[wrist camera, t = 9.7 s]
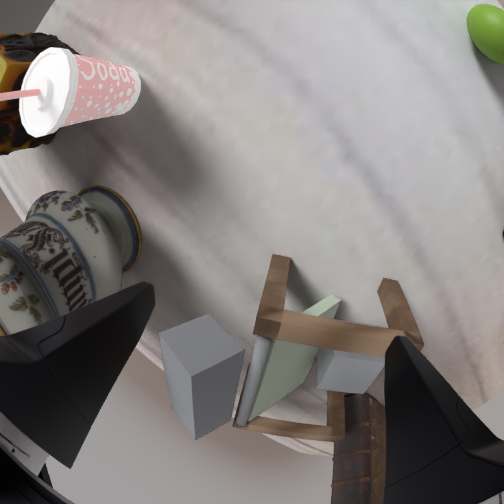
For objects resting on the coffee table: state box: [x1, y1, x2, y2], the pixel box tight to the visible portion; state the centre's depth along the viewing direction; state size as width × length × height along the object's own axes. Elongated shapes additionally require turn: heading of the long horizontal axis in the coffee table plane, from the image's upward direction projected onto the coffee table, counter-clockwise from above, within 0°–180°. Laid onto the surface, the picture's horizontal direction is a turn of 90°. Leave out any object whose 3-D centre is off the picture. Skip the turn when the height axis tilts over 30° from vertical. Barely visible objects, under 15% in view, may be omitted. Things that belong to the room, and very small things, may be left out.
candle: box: [0, 33, 80, 156], centre depth 14 cm, size 10×10×10 cm
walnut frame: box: [233, 254, 424, 442], centre depth 22 cm, size 12×16×8 cm
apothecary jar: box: [0, 185, 141, 336], centre depth 17 cm, size 12×12×18 cm
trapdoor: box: [159, 294, 341, 440], centre depth 22 cm, size 14×12×5 cm
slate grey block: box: [316, 318, 385, 394], centre depth 23 cm, size 5×5×5 cm
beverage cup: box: [0, 47, 141, 138], centre depth 12 cm, size 6×6×14 cm
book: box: [331, 393, 386, 504], centre depth 20 cm, size 17×7×25 cm, turn 39°
